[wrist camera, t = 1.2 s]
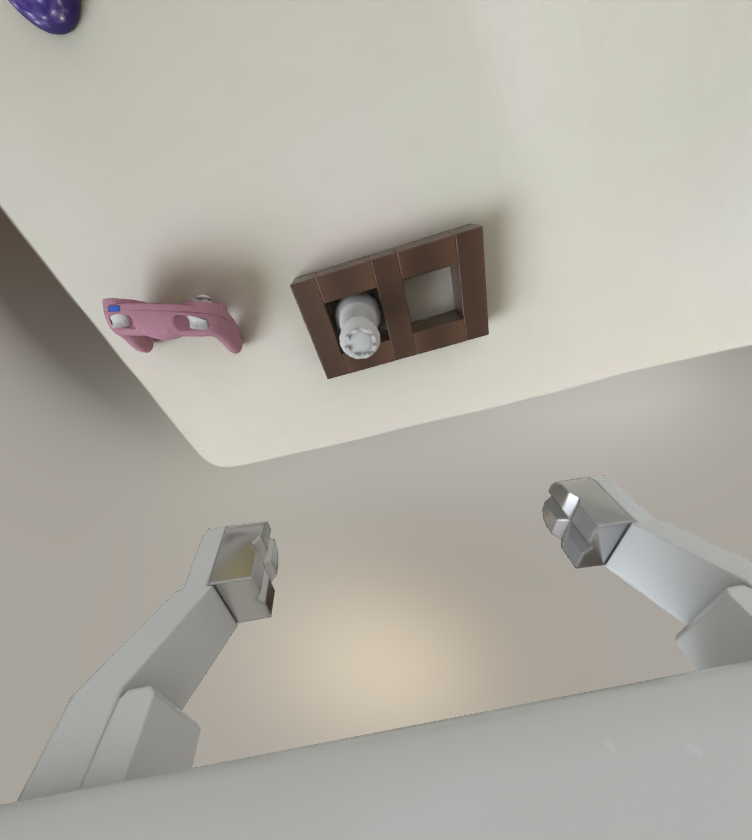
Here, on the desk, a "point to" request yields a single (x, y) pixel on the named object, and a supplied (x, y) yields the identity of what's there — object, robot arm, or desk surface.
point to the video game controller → (171, 322)
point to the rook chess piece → (358, 325)
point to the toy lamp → (50, 14)
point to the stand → (399, 298)
